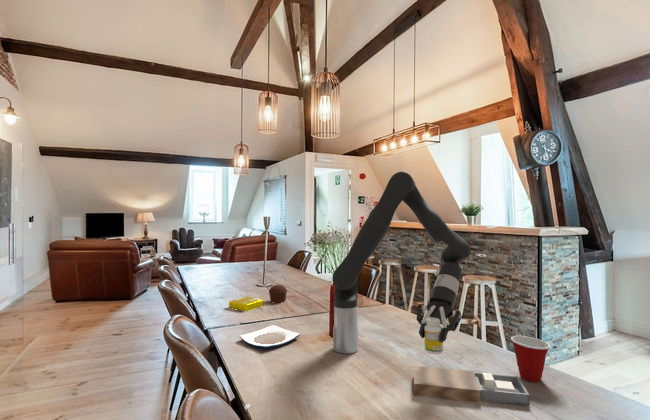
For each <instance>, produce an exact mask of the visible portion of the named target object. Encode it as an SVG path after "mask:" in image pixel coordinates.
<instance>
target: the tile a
mask: <svg viewBox="0 0 650 420" xmlns="http://www.w3.org/2000/svg"><path fill="white" fill-rule="evenodd" d="M481 373H482V386H483V389H488V390H495V385H494V378H493V376H492V374H493V373H492V372H481Z"/></svg>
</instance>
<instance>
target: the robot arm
mask: <svg viewBox="0 0 650 420" xmlns="http://www.w3.org/2000/svg"><path fill="white" fill-rule="evenodd" d="M402 202H403V203H404V204H406V205H407V206H408V208H409V209H410V210H411V211H412V213H413V214H414V215H415V216H416V218H417V219H418V221H419V223H420V224H421V225H422V227H423V228H424V230H425V231H426V233H427V234H428V235H429V236H430V237H431V239H432V240H433V242H435V243H439V244H440V243H442V242H443V243H444V244H446V245H447V246H446V247H445V248H444V249H443V251H442V253H441V256H440V268H439V271H438V275H437V278H436V280H435V282H434V284H433V288H432V291H431V293H430V297H429V302H428V303H427V304H426V305H422V303H421V304H418V305H417V310H416V312H417V313H416V321H417V322H418V325H420V326H419V329H418V330H419V331H418V334H419V336H420V338H421V339H425V334H424V328H425V326H426V325H427V323H426V319H427V318H438V319H439V320H440V322H441V323H442V329H441V332H440V336H439V341H440V342H441V343H443V344H444V342H446V340H447V338H448V333H449V332H455V331H456V330H457V328H458V326H459V324H460V322H461V320H462V318H463V315H462V312H461V311H460V310H454V307H455V303H456V300H457V296H458V293H459V287H460V286H459V285H460V282H461V277H462V273H463V271H462V267H461V266H460V264H461V263H462V262H463V261H465V260H466V259H467V258H469V257H470V256H471V253H472V250H471V246H470V244H469V243H468V242H467V240H465V239H464V238H463V237H462V236H460V235H459V234H457V233H456V232H455V231H454V230H452V229H451V228H450V227H449V226H448V224H446V222H445V221H444V220H443V219H442V217H441V216H440V215H439V214H438V213H437V212H436V210H434V209H433V208H432V206H430V204H429V203H428V202H427V201H426V199H425V197H423V196H422V194H421V193H420V191H419V189H418V188H417V185H416V182H415V180H414V178H413V177H412V175H411V174H409V173H408V172H407V171H403V170H402V171H398V172H395V173H394V174H393V175H391V177H390V178H389V181H387V184H386V187H385V189H384V191H383V192H382V195H381V196H380V198H379V200H378V202H377V203H376V205H375V206H374V207H373V209H372V210H371V212H370V214H369V215H368V216H367V218H366V220H365V221H364V222H363V225H362V226H361V227H360V229H359V231H358V233H357V235H356V236H355V239H354V241H353V243H352V245H351V248H350V250H349V251H348V253H347V255H346V256H345V258H344V259H343V260H342V261H341V262H340V264H339V265H338V266H337V267H336V269H335V270H334V271H333V272H332V273H333V274H332V276H331V278H332V283H333V285H334V297H333V316H334V317H333V320H334V323H333V327H332V328H333V329H332V330H333V331H332V336H333V337H332V339H333V340H332V341H333V342H332V343H333V344H332V345H333V352H337V353H338V354H345V355H346V354H354V353H356V352H358V351H359V329H358V327H359V319H358V314H359V313H358V296H359V295H358V290H359V289H358V288H359V287H358V278H359V277H358V276H359V275H360V273H361V271H362V269H363V267H364V265H365V264H366V262H367V261H368V260H369V258H370V257H371V256H372V255H373V253H374V252H375V251H376V249H377V248H378V246H379V245H380V244H381V243H382V241H383V239H384V237H385V236H386V235H387V232H388V231H389V228H390V226H391V224H392V221H393V219H394V215H395V214H396V213H395V212H396V210H398V209H397V208H398V207H399V206H400V204H401V203H402ZM426 311H427V312H426ZM424 314H425V316H424ZM451 316H452V319H451V321H450V322H449V321H448V320H449V318H450V317H451Z"/></svg>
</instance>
